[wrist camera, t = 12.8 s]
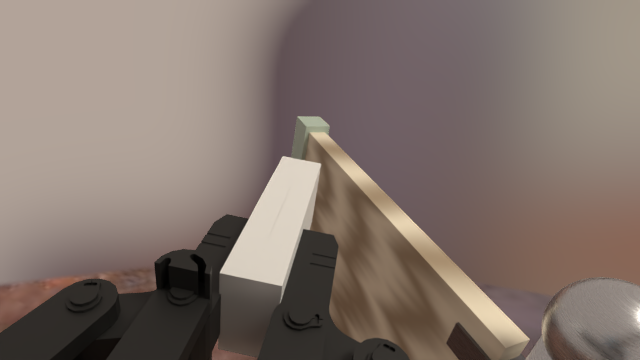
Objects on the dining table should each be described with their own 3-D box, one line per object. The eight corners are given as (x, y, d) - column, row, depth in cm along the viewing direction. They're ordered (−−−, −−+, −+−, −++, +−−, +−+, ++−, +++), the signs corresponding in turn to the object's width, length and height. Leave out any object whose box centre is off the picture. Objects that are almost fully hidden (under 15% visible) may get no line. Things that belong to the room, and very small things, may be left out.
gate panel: (451, 481, 24) (550, 337, 17) (420, 497, 23) (513, 351, 16) (300, 226, 44) (319, 116, 38) (280, 229, 43) (297, 116, 37)
